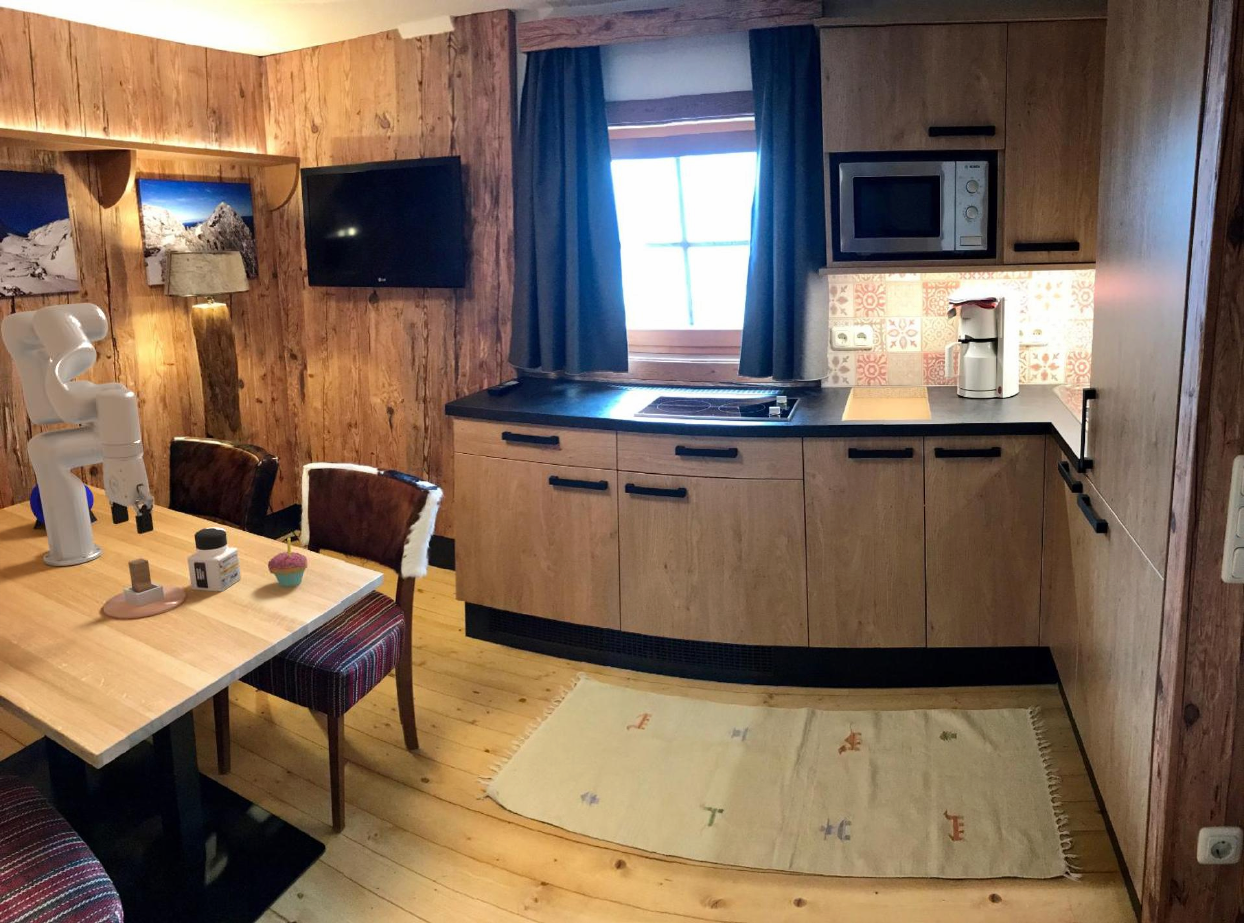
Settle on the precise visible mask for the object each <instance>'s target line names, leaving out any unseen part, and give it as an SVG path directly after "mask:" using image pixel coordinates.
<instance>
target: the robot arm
mask: <svg viewBox="0 0 1244 923" xmlns="http://www.w3.org/2000/svg"><path fill="white" fill-rule="evenodd" d="M0 330H1V331H0V332H1V338H2V341H3V344H4V345H5V348H6V349H7V352H8V353H9V355H10V356H11V358H12V360H13V361H14V364H15V365H16V368H17V370H18V373H19V374H18V375H19V380H20V384H21V389H22V393H23V399H24V403H25V404H24V405H25V408H26V410H27V415H28V418H29V419H30V421H31V422H32V424H35V425H37V426H51V425H52V426H54V425H58V424H59V425H60V424H69V425H81V424H83V425H81V426H74V427H65V428H60V429H54V430H48V431H44V432H40V433H38V434H36V435H34V436H32V438H30V440H29V441H28V443H27V454H28V456H29V460H30V462H31V465H32V468H33V471H34V473H35V478H36V482H37V484H38V486H39V491H40V497H41V502H42V508H43V514H44V520H45V532H46V536H47V543H48V548H49V551H48V552H47V553H45V555H44V556H43V559H42V560H43V562H44V564H46V565H49V566H55V567H59V566H60V567H61V566H63V567H65V566H73V565H78V564H83V563H88V562H90V561H93V560H94V559H97V558H98V557H99V558H100V557H101V555H102V554H103V548H102V547H101V546H100V545H97V544H95V542H94V541H95V540H94V536H93V528H92V523H91V522H90V515H89V509H88V503H87V496H86V490H85V486H84V485H85V484H84V482H83V481H82V480H81V479H80V478H79V477H78V476H76V475H75V474H73V473H72V472H71V470H72V469H76V468H79V467H85V466H90V465H95V464H100V463H102V476H103V488H104V495H105V498H106V500H108V503H109V506H110V510H111V519H112V523H113V524H114V525H118V524H122V523H126V522H129V520H130V517H129V508H130V507H132V508H133V510H134V511H135V514H136V515H134V517H135V522H136V523H135V524H136V531H137V532H136V533H137V534H139V535H142V534H146V533H150V532H152V531H154V523H153V521H154V520H153V514H152V513H153V508H154V496H153V495H152V494H151V493H150V487H149V480H148V479H149V478H148V474H147V472H146V471H147V470H146V466H145V462H144V459H143V455H144V448H143V440H142V433H141V426H140V425H141V424H140V418H139V417H140V416H139V409H138V408H139V407H138V401H137V396H136V394H135V392H134V391H132V390H130V389H129V388H128V387H126V386H125V385H124V384H123V383H121V382H114V381H113V382H106V383H98V384H95V383H94V382H92V381H89V380H85V379H84V380H83V379H82V380H81V379H80V380H74V379H75V378H77V377H79V376H81V375H82V374H84V373H85V372H87V371H89V370H90V369H91V368H92V367H93V365H94V364H95V362H96V360H97V351H96V349H95V348H96V347H94V345H93V344H92V343H93V342H98V341H101V340H103V339H104V338H105V337H106V336H107V334H108V331H109V324H108V320H107V316H106V314H105V313H104V311H103V310H102V308H100V306H97V305H96V304H94V303H91V302H81V303H80V302H79V303H69V304H67V303H65V304H54V305H49V306H44V307H42V308H40V309H37V310H28V311H27V310H25V311H20V312H15V313H11V314H9V315H6V316H5V317H4V318H3V319H2V322H1V325H0ZM140 505H141V507H140ZM128 507H129V508H128Z"/></svg>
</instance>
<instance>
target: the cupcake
mask: <svg viewBox="0 0 1244 923" xmlns="http://www.w3.org/2000/svg"><path fill="white" fill-rule="evenodd" d="M291 543H292V542H291V537H290V534H288V537H287V545H286V547H287V551H285V552H280V553H278V554H276V555H274V556H273V557H272V558H271V559H270V560H269V561H268V562H267V563H268V564H267V568H268V571H269V573H270V574H273V575H274V576H275V578H276V580H277V582H278V584H279V586H280V587H284V588H290V587H291V586H292V587H296V586H299V585H300V584H301V583H302V580H303V577H304V573H305V571H306V569H307V568H308V564H309V563H308V559H307V557H306V556H305V555H303V554H301V553H298V552H293V551H292V552H291V550H292V548H291V546H292V545H291Z"/></svg>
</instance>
